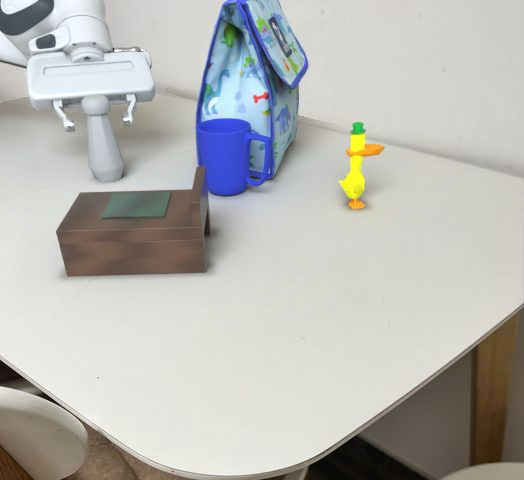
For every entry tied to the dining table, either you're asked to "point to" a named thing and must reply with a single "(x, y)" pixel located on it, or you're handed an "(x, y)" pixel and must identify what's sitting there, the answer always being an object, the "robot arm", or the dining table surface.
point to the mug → (229, 154)
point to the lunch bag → (254, 77)
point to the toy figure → (357, 164)
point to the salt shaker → (102, 140)
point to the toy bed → (137, 231)
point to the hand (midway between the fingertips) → (99, 127)
